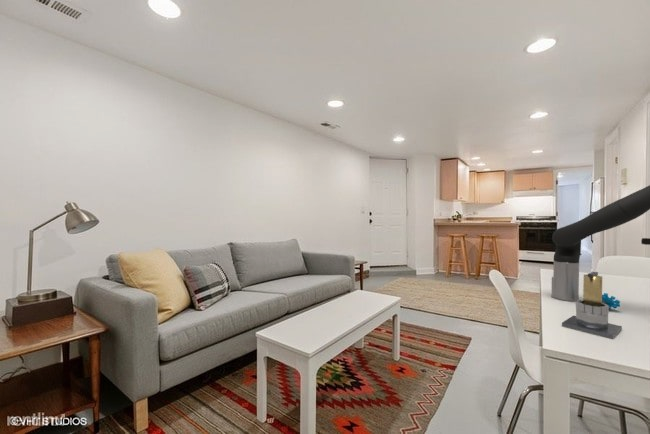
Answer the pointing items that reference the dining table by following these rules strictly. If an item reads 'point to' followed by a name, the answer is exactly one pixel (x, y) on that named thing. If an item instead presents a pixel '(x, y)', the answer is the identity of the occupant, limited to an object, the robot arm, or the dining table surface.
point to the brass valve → (592, 289)
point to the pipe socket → (592, 320)
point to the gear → (610, 301)
